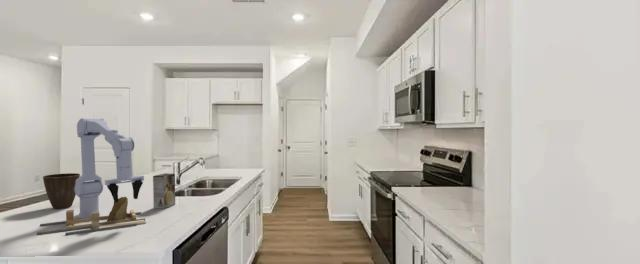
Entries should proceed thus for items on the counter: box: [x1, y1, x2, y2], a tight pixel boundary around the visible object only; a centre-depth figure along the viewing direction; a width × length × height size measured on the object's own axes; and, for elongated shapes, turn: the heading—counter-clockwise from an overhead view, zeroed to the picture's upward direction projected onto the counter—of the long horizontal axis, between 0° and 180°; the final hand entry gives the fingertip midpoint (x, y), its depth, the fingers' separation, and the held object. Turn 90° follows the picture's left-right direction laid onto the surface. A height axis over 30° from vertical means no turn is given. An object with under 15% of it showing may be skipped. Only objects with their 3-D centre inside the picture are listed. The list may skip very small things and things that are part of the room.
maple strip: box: [91, 210, 147, 229], centre depth 148 cm, size 4×19×6 cm, turn 124°
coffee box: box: [152, 172, 176, 209], centre depth 182 cm, size 9×6×16 cm
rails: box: [36, 211, 146, 236], centre depth 148 cm, size 20×37×1 cm, turn 123°
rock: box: [106, 196, 129, 222], centre depth 155 cm, size 11×9×10 cm
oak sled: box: [64, 209, 137, 229], centre depth 152 cm, size 12×25×6 cm, turn 123°
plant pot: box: [42, 172, 81, 210], centre depth 178 cm, size 15×15×16 cm
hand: (126, 200), depth 147 cm, fingers open, 7 cm apart
